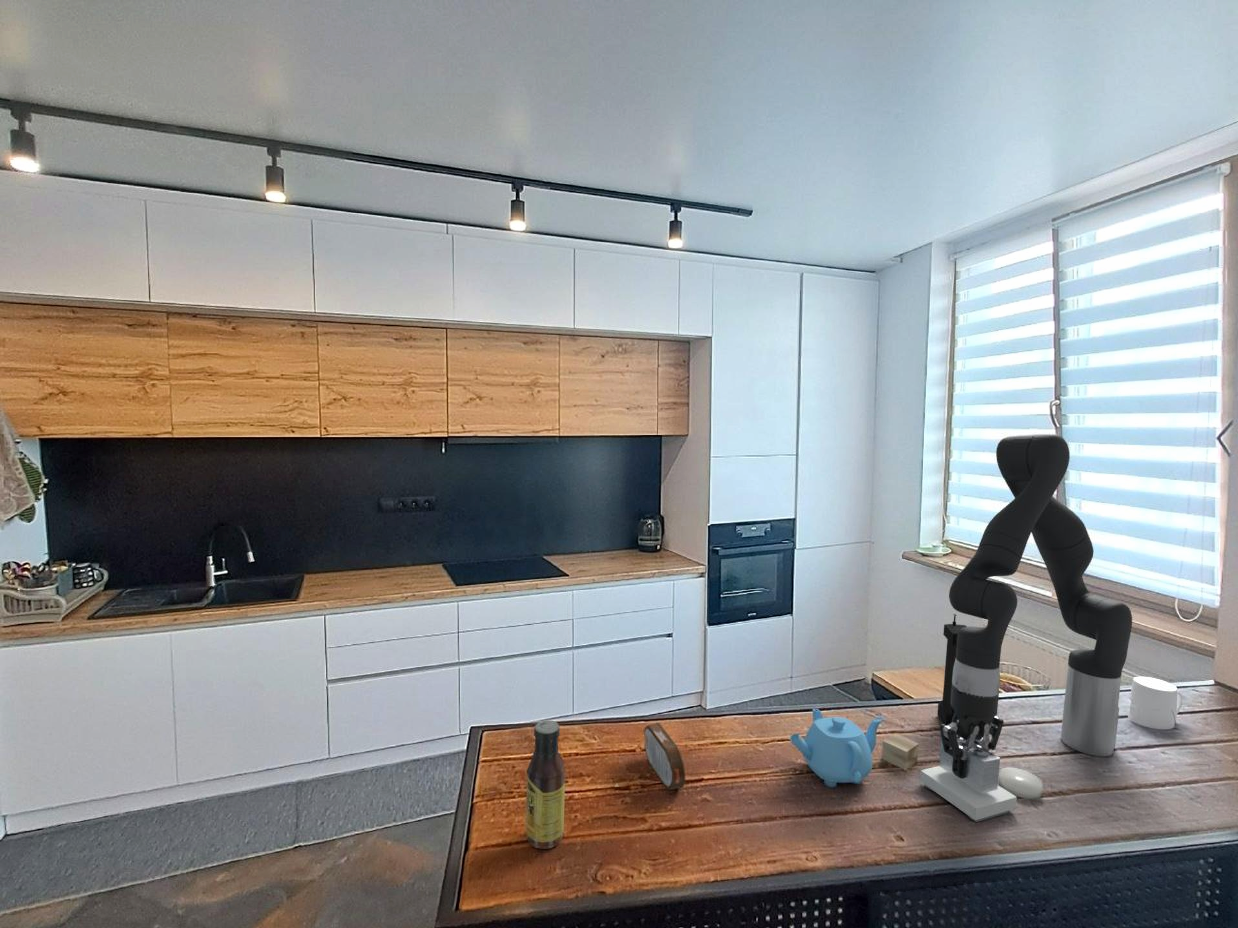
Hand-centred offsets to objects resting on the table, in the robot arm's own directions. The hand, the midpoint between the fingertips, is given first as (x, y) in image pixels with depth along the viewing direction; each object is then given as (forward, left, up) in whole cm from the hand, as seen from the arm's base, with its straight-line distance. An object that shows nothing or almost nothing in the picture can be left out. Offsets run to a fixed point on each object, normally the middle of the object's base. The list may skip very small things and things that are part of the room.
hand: (967, 773), depth 116 cm
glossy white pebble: (-13, +1, -5) cm, 14 cm away
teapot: (+18, -15, -5) cm, 24 cm away
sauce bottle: (+77, -15, -5) cm, 79 cm away
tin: (+51, -25, -5) cm, 57 cm away
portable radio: (-22, -21, -5) cm, 31 cm away
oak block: (+2, -14, -5) cm, 15 cm away
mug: (-70, -7, -5) cm, 71 cm away
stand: (0, 0, -5) cm, 5 cm away
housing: (0, 0, -1) cm, 1 cm away
